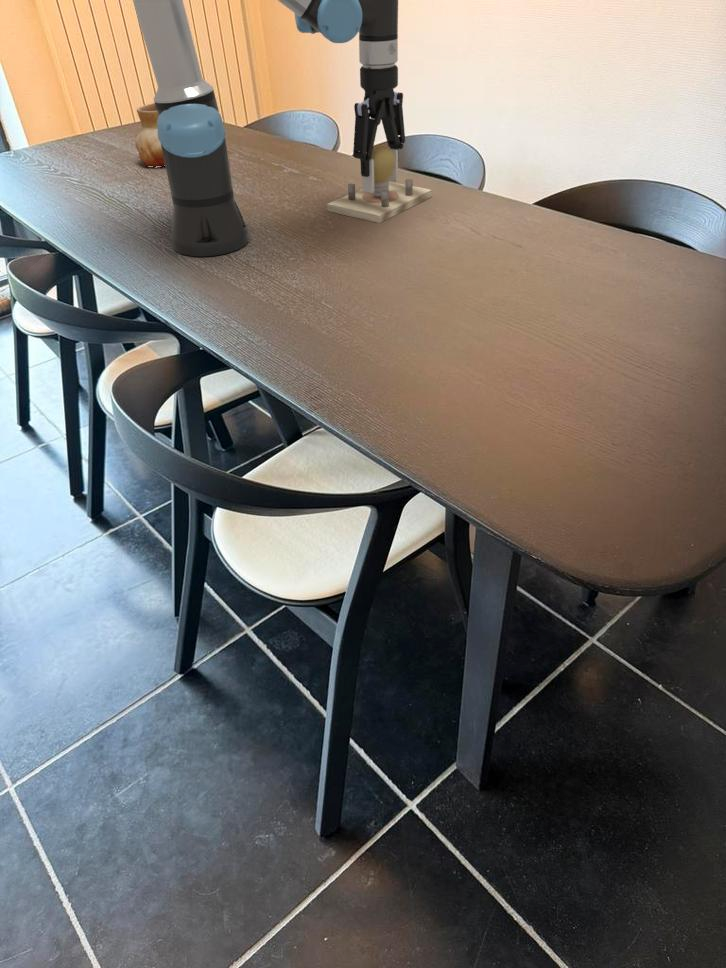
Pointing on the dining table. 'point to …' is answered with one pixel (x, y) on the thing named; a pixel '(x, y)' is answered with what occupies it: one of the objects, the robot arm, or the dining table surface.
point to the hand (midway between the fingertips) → (380, 186)
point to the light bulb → (382, 168)
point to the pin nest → (379, 201)
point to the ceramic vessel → (149, 137)
